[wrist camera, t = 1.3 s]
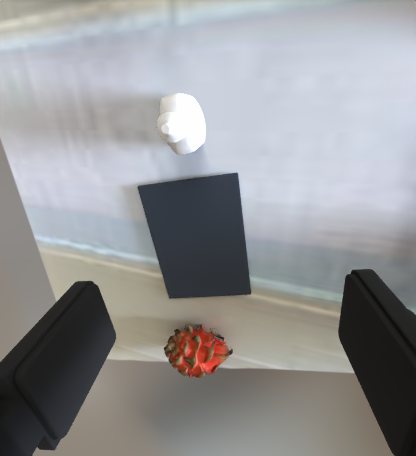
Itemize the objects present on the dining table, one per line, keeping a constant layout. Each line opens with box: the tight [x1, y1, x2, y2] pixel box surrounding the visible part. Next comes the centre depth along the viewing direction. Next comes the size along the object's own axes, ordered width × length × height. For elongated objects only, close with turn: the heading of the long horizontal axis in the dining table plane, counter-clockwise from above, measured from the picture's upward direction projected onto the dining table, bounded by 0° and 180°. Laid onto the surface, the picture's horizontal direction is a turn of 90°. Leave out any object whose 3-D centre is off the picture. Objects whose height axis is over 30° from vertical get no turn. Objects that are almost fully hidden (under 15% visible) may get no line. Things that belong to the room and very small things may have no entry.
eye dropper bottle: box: [156, 93, 206, 155], centre depth 25 cm, size 4×6×12 cm
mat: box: [138, 173, 251, 298], centre depth 38 cm, size 20×14×1 cm
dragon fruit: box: [164, 325, 233, 378], centre depth 43 cm, size 8×8×12 cm
